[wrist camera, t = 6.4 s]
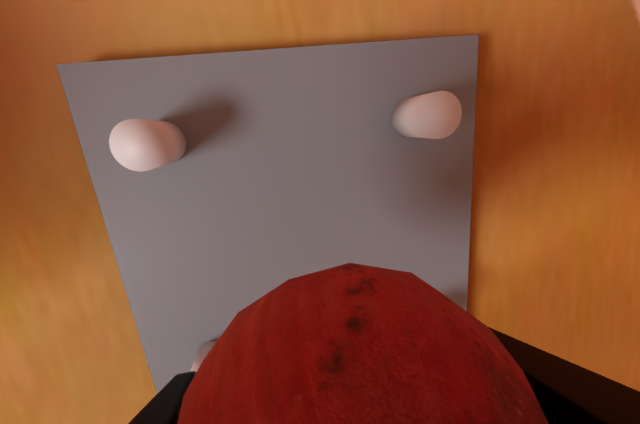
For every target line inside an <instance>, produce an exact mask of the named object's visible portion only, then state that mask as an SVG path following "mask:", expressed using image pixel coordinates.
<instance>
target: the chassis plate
mask: <svg viewBox="0 0 640 424" xmlns="http://www.w3.org/2000/svg"><path fill="white" fill-rule="evenodd" d="M478 43H479V34H474V35H460V36H446V37H432V38H418V39H404V40H390V41H376V42H361V43H347V44H333V45H319V46H305V47H291V48H277V49H263V50H249V51H235V52H220V53H206V54H192V55H178V56H164V57H150V58H136V59H122V60H108V61H94V62H79V63H65V64H56V66H57V69H58V73H59V76H60V79H61V82H62V86H63V89H64V92H65V95H66V99H67V102H68V105H69V108H70V112H71V115H72V118H73V121H74V125H75V128H76V131H77V134H78V138H79V141H80V144H81V147H82V151H83V154H84V157H85V160H86V164H87V167H88V170H89V174H90V177H91V180H92V183H93V187H94V190H95V193H96V196H97V200H98V203H99V206H100V209H101V213H102V216H103V219H104V222H105V226H106V229H107V232H108V235H109V239H110V242H111V245H112V248H113V252H114V255H115V258H116V261H117V265H118V268H119V271H120V274H121V278H122V281H123V284H124V287H125V291H126V294H127V297H128V301H129V304H130V307H131V310H132V314H133V317H134V320H135V323H136V327H137V330H138V333H139V336H140V340H141V343H142V346H143V349H144V353H145V356H146V359H147V362H148V366H149V369H150V372H151V375H152V379H153V382H154V385H155V388H156V392H157V394H158V393H159V392H160V391H161V390H162V388H163V387H164V386H165V385H166V384H167V383H168V382H169V381H170V380H171V379H172V378H173V377H174V376H175V375H177V374H179V373H185V372H190V371H196V372H197V371H198V369H199V367H200V365H201V363H202V361H203V360H204V358H205V357H206V355H207V354H208V353H209V351H210V350H211V349H212V347H213V346H214V344H215V343H216V342H217V340H218V339H219V338H220V336H221V335H222V334H223V332H224V331H225V329H226V328H227V327H228V325H229V324H230V323H231V321H232V320H233V319H234V317H235V316H236V314H237V313H238V312H239V311H241V310H243V309H244V308H246V307H247V306H249V305H250V304H252V303H253V302H255V301H256V300H258V299H259V298H261V297H262V296H264V295H266V294H267V293H269V292H270V291H272V290H273V289H275V288H276V287H278V286H279V285H281V284H282V283H284V282H285V281H287V280H288V279H292V278H296V277H299V276H303V275H307V274H310V273H314V272H318V271H321V270H325V269H329V268H332V267H336V266H340V265H343V264H347V263H355V264H361V265H367V266H373V267H380V268H386V269H392V270H398V271H405V272H411V273H413V274H414V275H416V276H417V277H419V278H420V279H422V280H423V281H425V282H426V283H428V284H429V285H431V286H432V287H434V288H435V289H437V290H438V291H439V292H441V293H442V294H443V295H445V296H446V297H447V298H449V299H450V300H452V301H453V302H454V303H456V304H457V305H458V306H460V307H461V308H462V309H464V310H465V311H466V312H467V292H468V270H469V247H470V224H471V202H472V179H473V156H474V134H475V111H476V88H477V66H478Z"/></svg>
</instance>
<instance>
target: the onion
mask: <svg viewBox="0 0 640 424" xmlns="http://www.w3.org/2000/svg"><path fill="white" fill-rule="evenodd" d="M177 424H549V423H548V421H547V419H546V417H545V415H544V413H543V411H542V409H541V407H540V405H539V403H538V401H537V398H536V396H535V394H534V392H533V390H532V388H531V386H530V384H529V382H528V380H527V378H526V376H525V374H524V372H523V370H522V369H521V368H520V366H519V365H518V364H517V362H516V361H515V360H514V359H513V357H512V356H511V355H510V353H509V352H508V351H507V350H506V348H505V347H504V346H503V344H502V343H501V342H500V341H499V339H498V338H497V337H496V335H495V334H494V333H493V332H492V330H491V329H490V328H488V327H487V326H485V325H484V324H483V323H481V322H480V321H479V320H477V319H476V318H475V317H473V316H472V315H471V314H469V313H468V312H466V311H465V310H464V309H462V308H461V307H460V306H458V305H457V304H456V303H454V302H453V301H452V300H450V299H449V298H447V297H446V296H445V295H443V294H442V293H441V292H439V291H438V290H437V289H435V288H434V287H432V286H431V285H429V284H428V283H426V282H425V281H423V280H422V279H420V278H419V277H417V276H416V275H414V274H413V273H411V272H405V271H398V270H392V269H386V268H380V267H373V266H367V265H361V264H355V263H347V264H343V265H340V266H336V267H332V268H329V269H325V270H321V271H318V272H314V273H310V274H307V275H303V276H299V277H296V278H292V279H288V280H287V281H285V282H284V283H282V284H281V285H279V286H278V287H276V288H275V289H273V290H272V291H270V292H269V293H267V294H266V295H264V296H262V297H261V298H259V299H258V300H256V301H255V302H253V303H252V304H250V305H249V306H247V307H246V308H244V309H243V310H241V311H239V312H238V313H237V314H236V316H235V317H234V319H233V320H232V321H231V323H230V324H229V325H228V327H227V328H226V329H225V331H224V332H223V334H222V335H221V336H220V338H219V339H218V340H217V342H216V343H215V344H214V346H213V347H212V349H211V350H210V351H209V353H208V354H207V355H206V357H205V358H204V360H203V361H202V363H201V365H200V367H199V369H198V371H197V372H196V374H195V376H194V378H193V380H192V381H191V383H190V385H189V387H188V389H187V390H186V392H185V394H184V396H183V401H182V405H181V410H180V414H179V419H178V423H177Z"/></svg>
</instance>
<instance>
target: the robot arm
mask: <svg viewBox="0 0 640 424" xmlns="http://www.w3.org/2000/svg"><path fill="white" fill-rule="evenodd" d="M488 328H489V327H488ZM490 329H491V328H490ZM491 330H492V332H493V333H494V334H495V335H496V337H497V338H498V339H499V341H500V342H501V343H502V344H503V346H504V347H505V348H506V350H507V351H508V352H509V353H510V355H511V356H512V357H513V359H514V360H515V361H516V362H517V364H518V365H519V366H520V368H521V369H522V370H523V372H524V374H525V376H526V378H527V380H528V382H529V384H530V386H531V388H532V390H533V392H534V394H535V396H536V398H537V401H538V403H539V405H540V407H541V409H542V411H543V413H544V415H545V417H546V419H547V421H548V423H549V424H640V392H639V391H637V390H634V389H632V388H630V387H627V386H625V385H623V384H620V383H618V382H616V381H613V380H611V379H609V378H606V377H604V376H602V375H599V374H597V373H595V372H592V371H590V370H588V369H585V368H583V367H580V366H578V365H576V364H573V363H571V362H569V361H566V360H564V359H562V358H559V357H557V356H555V355H552V354H550V353H548V352H545V351H543V350H541V349H538V348H536V347H534V346H531V345H529V344H527V343H524V342H522V341H520V340H517V339H515V338H513V337H510V336H508V335H506V334H503V333H501V332H499V331H496V330H494V329H491ZM195 374H196V371H190V372H185V373H179V374H177V375H175V376H174V377H173V378H172V379H171V380H170V381H169V382H168V383H167V384H166V385H165V386H164V387H163V388H162V390H161V391H160V392H159V393H158V394H157V395H156V396H155V397H154V398H153V399H152V400H151V401H150V402H149V403H148V404H147V405H146V406H145V407H144V408H143V409H142V410H141V411H140V412H139V413H138V414H137V415H136V416H135V417H134V418H133V419H132V420H131V421H130V422H129V423H128V424H177V423H178V419H179V414H180V410H181V405H182V401H183V396H184V394H185V392H186V390H187V389H188V387H189V385H190V383H191V381H192V380H193V378H194V376H195Z"/></svg>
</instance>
